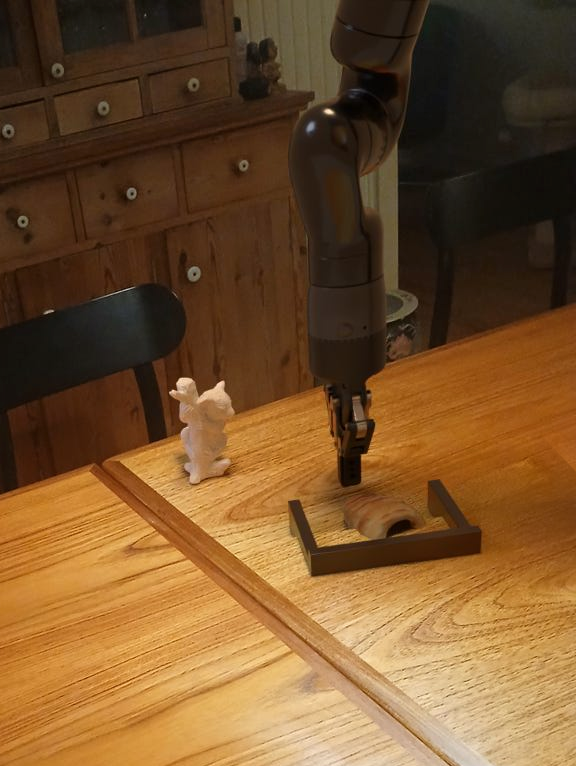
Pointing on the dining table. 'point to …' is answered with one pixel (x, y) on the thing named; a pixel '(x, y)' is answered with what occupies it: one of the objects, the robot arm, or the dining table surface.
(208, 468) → the white animal figurine
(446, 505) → the frame
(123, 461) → the dining table surface
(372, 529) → the pastry
